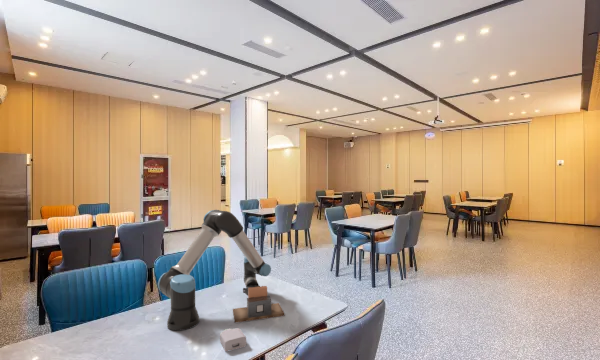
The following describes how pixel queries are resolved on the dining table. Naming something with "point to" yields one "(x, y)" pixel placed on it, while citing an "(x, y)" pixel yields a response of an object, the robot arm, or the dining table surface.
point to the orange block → (257, 294)
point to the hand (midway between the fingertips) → (257, 299)
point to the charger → (232, 339)
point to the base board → (242, 316)
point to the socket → (258, 301)
